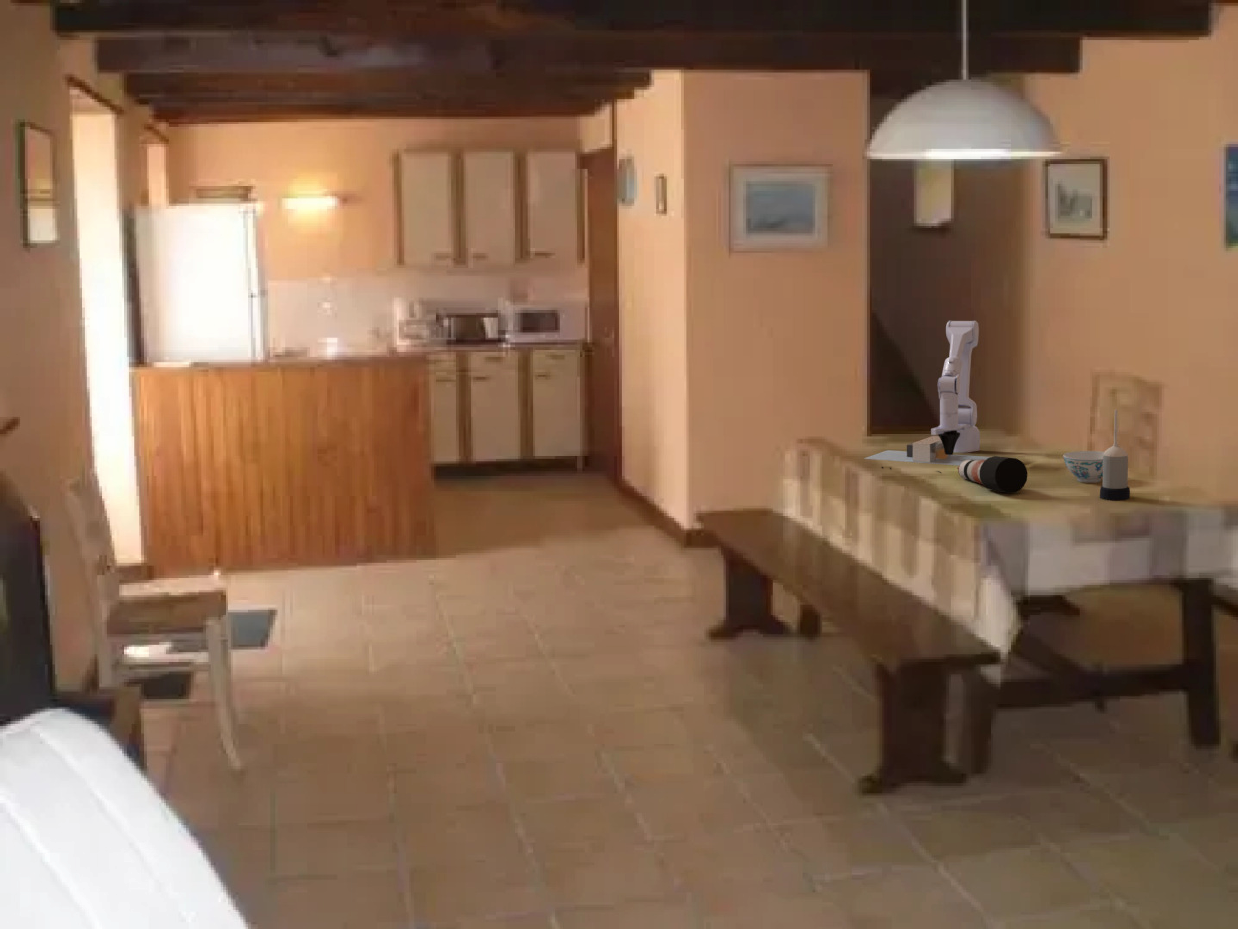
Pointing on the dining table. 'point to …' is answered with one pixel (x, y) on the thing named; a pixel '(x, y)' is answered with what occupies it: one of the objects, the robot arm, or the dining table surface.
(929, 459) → the grey arch block
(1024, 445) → the dining table surface
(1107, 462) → the nozzle bottle
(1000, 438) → the dining table surface
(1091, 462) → the chinaware
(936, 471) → the dining table surface
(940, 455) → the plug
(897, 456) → the board
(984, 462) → the striped cylinder
